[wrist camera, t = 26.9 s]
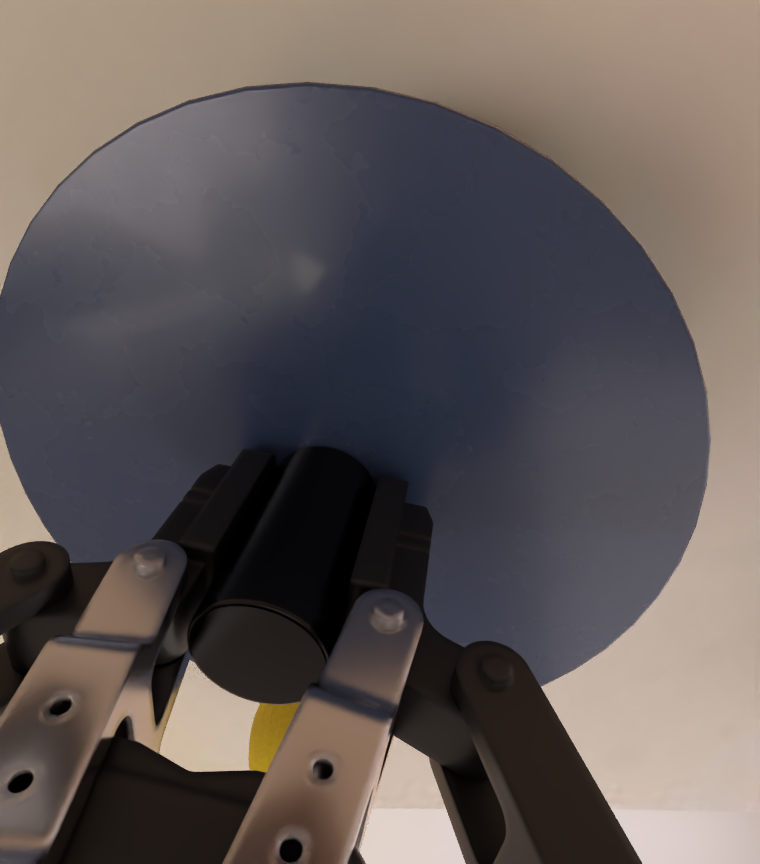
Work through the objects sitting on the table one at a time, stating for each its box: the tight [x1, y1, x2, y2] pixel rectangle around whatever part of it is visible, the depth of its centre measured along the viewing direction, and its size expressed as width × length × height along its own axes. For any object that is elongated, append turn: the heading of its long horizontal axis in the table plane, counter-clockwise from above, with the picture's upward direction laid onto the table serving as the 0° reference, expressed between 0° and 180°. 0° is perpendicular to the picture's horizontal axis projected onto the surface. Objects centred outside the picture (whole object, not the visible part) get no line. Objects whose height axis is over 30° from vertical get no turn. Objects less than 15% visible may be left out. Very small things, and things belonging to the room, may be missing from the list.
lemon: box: [249, 703, 300, 773], centre depth 30 cm, size 6×6×8 cm
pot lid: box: [0, 82, 711, 705], centre depth 13 cm, size 17×17×6 cm
